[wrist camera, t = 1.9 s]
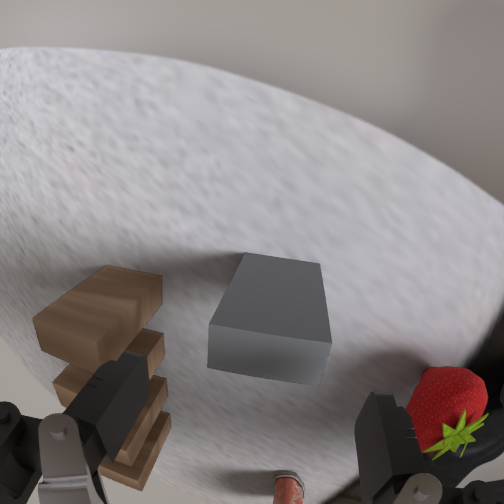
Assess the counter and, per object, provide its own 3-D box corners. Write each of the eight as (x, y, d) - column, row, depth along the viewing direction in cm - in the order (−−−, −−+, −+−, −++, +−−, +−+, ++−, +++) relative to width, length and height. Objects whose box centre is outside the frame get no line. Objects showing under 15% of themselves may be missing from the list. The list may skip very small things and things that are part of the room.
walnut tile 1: (126, 399, 28) (88, 460, 19) (169, 413, 27) (137, 481, 19) (130, 413, 29) (95, 472, 20) (171, 426, 28) (141, 491, 20)
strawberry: (375, 388, 23) (394, 484, 13) (435, 324, 20) (488, 414, 11) (416, 407, 23) (441, 491, 14) (472, 351, 20) (520, 429, 11)
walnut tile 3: (112, 319, 24) (52, 382, 16) (163, 333, 24) (112, 408, 15) (115, 341, 25) (61, 405, 17) (164, 355, 25) (118, 430, 16)
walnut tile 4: (106, 264, 23) (32, 318, 14) (162, 275, 22) (95, 342, 14) (109, 291, 23) (41, 350, 15) (162, 304, 23) (103, 376, 14)
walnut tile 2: (119, 364, 26) (71, 427, 18) (166, 378, 26) (126, 451, 17) (122, 381, 27) (79, 444, 18) (168, 395, 26) (131, 466, 18)
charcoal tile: (245, 252, 21) (209, 323, 12) (319, 263, 20) (331, 343, 12) (241, 284, 21) (207, 367, 13) (313, 295, 21) (318, 385, 12)
